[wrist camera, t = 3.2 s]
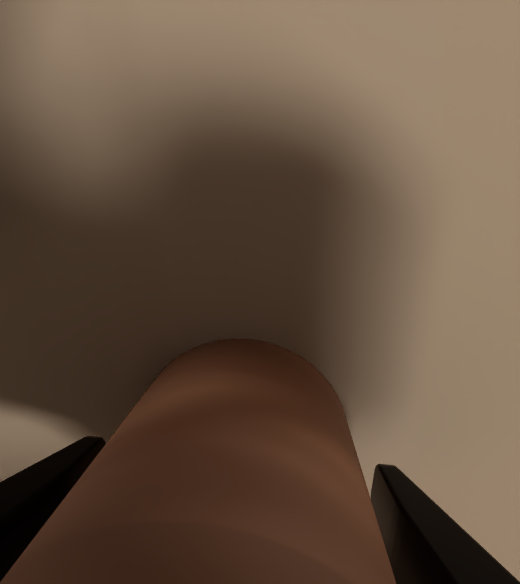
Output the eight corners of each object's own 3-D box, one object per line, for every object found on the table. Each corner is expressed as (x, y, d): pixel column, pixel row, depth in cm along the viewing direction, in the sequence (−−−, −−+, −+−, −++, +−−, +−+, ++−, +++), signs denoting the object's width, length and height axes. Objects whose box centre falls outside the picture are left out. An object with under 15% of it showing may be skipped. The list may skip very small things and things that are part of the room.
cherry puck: (359, 347, 8) (476, 553, 3) (334, 528, 9) (390, 868, 4) (139, 330, 8) (-62, 494, 3) (144, 507, 10) (4, 807, 5)
